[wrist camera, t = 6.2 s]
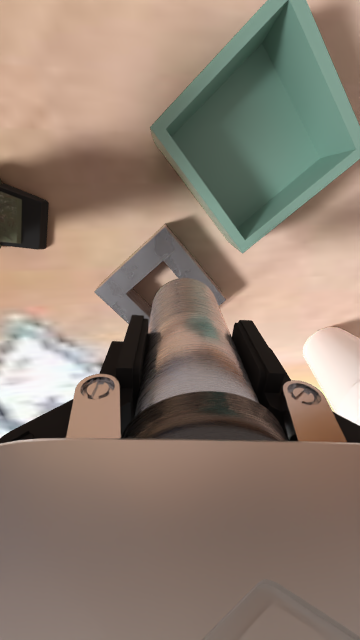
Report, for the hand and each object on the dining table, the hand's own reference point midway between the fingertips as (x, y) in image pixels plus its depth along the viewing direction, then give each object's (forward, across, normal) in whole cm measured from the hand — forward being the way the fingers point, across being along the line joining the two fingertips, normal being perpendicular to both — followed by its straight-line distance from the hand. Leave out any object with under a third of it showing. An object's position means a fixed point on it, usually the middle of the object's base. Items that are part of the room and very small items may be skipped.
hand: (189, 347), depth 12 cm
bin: (+19, -6, -10) cm, 22 cm away
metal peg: (+4, 0, 0) cm, 4 cm away
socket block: (+19, +2, +4) cm, 19 cm away
